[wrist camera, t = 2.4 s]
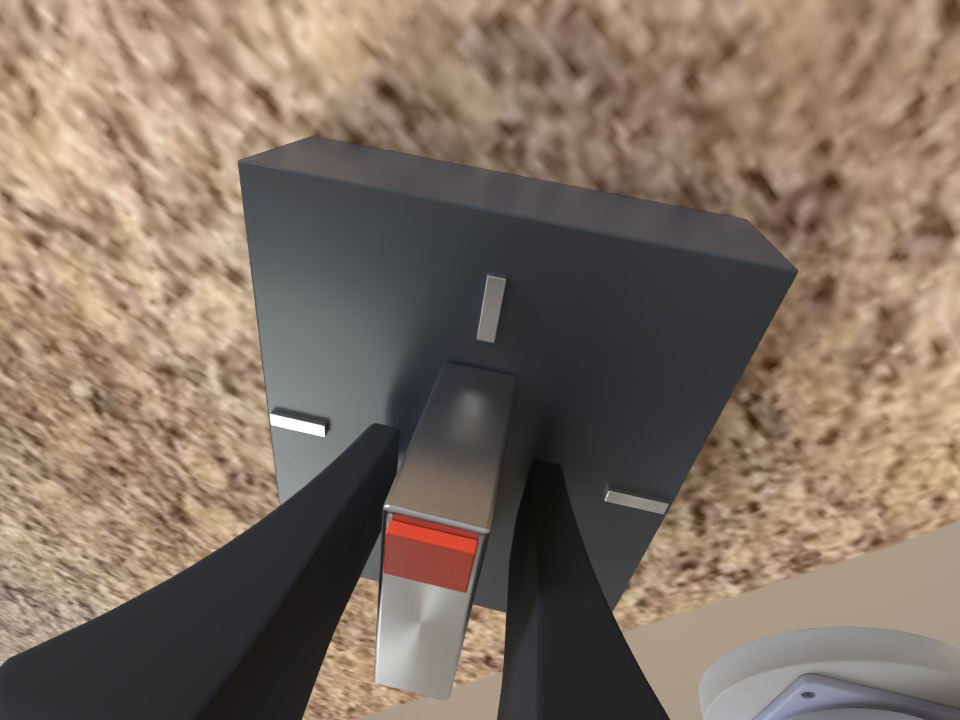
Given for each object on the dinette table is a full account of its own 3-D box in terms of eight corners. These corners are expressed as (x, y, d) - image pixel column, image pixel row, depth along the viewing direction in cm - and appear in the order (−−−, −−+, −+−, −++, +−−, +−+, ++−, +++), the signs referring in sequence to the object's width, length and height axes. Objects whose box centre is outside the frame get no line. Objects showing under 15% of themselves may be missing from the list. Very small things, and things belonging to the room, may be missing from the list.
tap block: (596, 551, 17) (600, 641, 15) (325, 488, 18) (282, 563, 15) (747, 219, 11) (804, 274, 8) (311, 135, 11) (230, 161, 9)
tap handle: (480, 538, 13) (445, 717, 10) (422, 525, 13) (368, 696, 10) (518, 374, 10) (488, 547, 7) (444, 359, 10) (375, 520, 7)
